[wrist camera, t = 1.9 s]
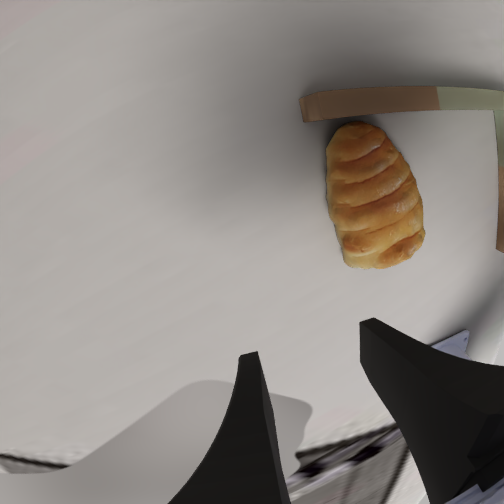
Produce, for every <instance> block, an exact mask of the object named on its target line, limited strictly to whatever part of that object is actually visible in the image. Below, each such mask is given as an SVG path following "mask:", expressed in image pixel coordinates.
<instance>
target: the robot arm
mask: <svg viewBox="0 0 504 504" xmlns="http://www.w3.org/2000/svg"><path fill="white" fill-rule="evenodd" d="M359 324H360V363H361V365H362V367H363V369H364V371H365V373H366V375H367V377H368V379H369V381H370V383H371V385H372V386H373V388H374V389H375V391H376V392H377V394H378V396H379V397H380V399H381V400H382V402H383V403H384V405H385V406H386V408H387V409H388V411H389V412H390V414H391V415H392V417H393V418H394V420H395V421H396V423H397V425H398V427H399V428H400V430H401V432H402V434H403V436H404V438H405V440H406V442H407V445H408V447H409V449H410V451H411V453H412V456H413V458H414V460H415V463H416V465H417V468H418V470H419V473H420V475H421V478H422V481H423V483H424V486H425V489H426V492H427V495H428V498H429V502H430V504H504V366H498V365H491V364H485V363H480V362H476V361H473V360H472V359H471V358H470V357H469V356H468V355H467V354H466V353H465V351H466V347H467V342H468V338H469V331H468V330H464V331H462V332H460V333H458V334H456V335H454V336H452V337H450V338H448V339H446V340H444V341H442V342H439V343H437V344H435V345H433V346H428V345H426V344H424V343H422V342H420V341H417V340H415V339H413V338H411V337H409V336H407V335H406V334H404V333H402V332H400V331H398V330H396V329H394V328H393V327H391V326H389V325H387V324H385V323H383V322H382V321H380V320H378V319H376V318H371V319H368V320H365V321H361V322H359ZM168 504H291V502H290V498H289V494H288V491H287V487H286V483H285V479H284V475H283V471H282V467H281V461H280V455H279V448H278V441H277V434H276V427H275V420H274V413H273V408H272V405H271V401H270V397H269V393H268V389H267V385H266V381H265V378H264V374H263V370H262V366H261V363H260V359H259V355H258V351H256V352H252V353H248V354H243V355H241V356H240V357H239V363H238V371H237V376H236V381H235V385H234V389H233V393H232V397H231V400H230V403H229V406H228V409H227V412H226V415H225V417H224V419H223V422H222V424H221V427H220V429H219V431H218V433H217V435H216V438H215V439H214V441H213V443H212V445H211V447H210V448H209V450H208V452H207V454H206V455H205V457H204V459H203V460H202V462H201V463H200V465H199V466H198V467H197V469H196V470H195V472H194V473H193V475H192V476H191V477H190V479H189V480H188V481H187V483H186V484H185V485H184V486H183V487H182V489H181V490H180V491H179V492H178V493H177V494H176V495H175V496H174V497H173V499H172V500H171V501H170V502H169V503H168Z"/></svg>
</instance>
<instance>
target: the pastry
mask: <svg viewBox="0 0 504 504" xmlns="http://www.w3.org/2000/svg"><path fill="white" fill-rule="evenodd" d="M326 157H327V162H326V165H327V175H326V183H327V195H326V199H327V201H328V211H329V216H330V219H331V220H332V221H333V223H334V224H335V230H336V233H337V238H338V241H339V243H340V245H341V248H342V252H343V260H344V262H345V263H346V264H347V265H348V266H350V267H352V268H362V269H370V268H377V269H384V268H388V267H391V266H394V265H397V264H399V263H401V262H403V261H405V260H407V259H409V258H411V257H412V255H413V254H414V252H415V251H417V250H418V249H419V248H420V247H421V246H422V243H423V240H424V237H425V230H424V228H423V205H422V199H421V196H420V194H419V191H418V188H417V184H416V180H415V178H414V176H413V174H412V172H411V170H410V166H409V165H408V163H407V162H406V161H405V160H404V158H403V156H402V154H401V153H400V152H399V151H398V150H397V149H396V148H395V147H394V145H393V144H392V142H391V140H390V139H389V138H388V137H387V135H386V133H385V132H384V131H383V130H381V129H380V128H378V127H376V126H373V125H371V124H369V123H365V122H363V121H353V122H349V123H346V124H344V125H343V126H341V127H340V128H339V129H337V131H336V132H335V134H334V136H333V138H332V139H331V141H330V143H329V144H328V146H327V148H326Z"/></svg>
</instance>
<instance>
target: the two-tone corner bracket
mask: <svg viewBox="0 0 504 504" xmlns="http://www.w3.org/2000/svg"><path fill="white" fill-rule="evenodd" d="M299 102H300V106H301V111H302V116H303V121H304V122H311V121H318V120H326V119H334V118H342V117H350V116H359V115H369V114H380V113H392V112H406V111H425V110H494V116H495V125H496V135H497V148H498V167H499V212H498V231H497V244H496V249H497V250H499V251H501V252H503V253H504V91H499V90H489V89H477V88H463V87H439V86H395V87H370V88H355V89H342V90H331V91H322V92H316V93H314V94H311V95H308V96H306V97H303V98H301V99H299Z"/></svg>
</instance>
